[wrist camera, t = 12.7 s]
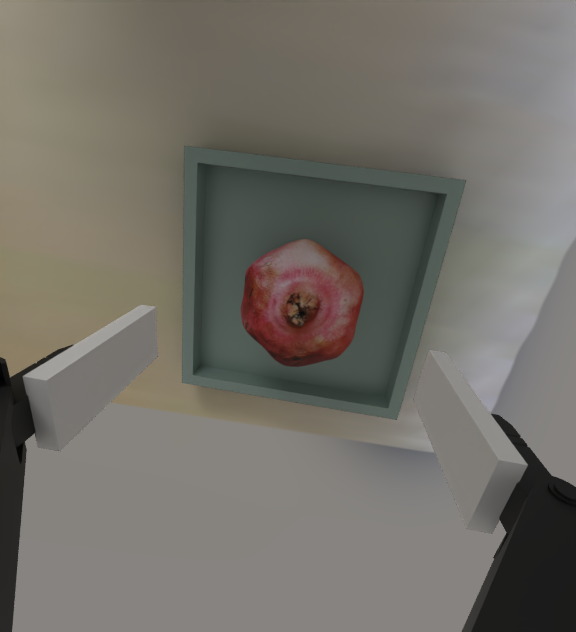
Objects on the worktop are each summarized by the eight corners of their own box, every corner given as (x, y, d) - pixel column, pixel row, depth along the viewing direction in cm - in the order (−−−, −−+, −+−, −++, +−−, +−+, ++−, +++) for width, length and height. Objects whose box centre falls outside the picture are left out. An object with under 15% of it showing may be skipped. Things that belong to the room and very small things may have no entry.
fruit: (302, 359, 30) (290, 429, 21) (231, 283, 29) (184, 324, 19) (383, 298, 27) (411, 348, 18) (309, 210, 26) (299, 216, 16)
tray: (197, 150, 26) (184, 145, 23) (453, 182, 25) (466, 180, 22) (192, 369, 33) (182, 382, 30) (391, 403, 31) (396, 419, 29)
